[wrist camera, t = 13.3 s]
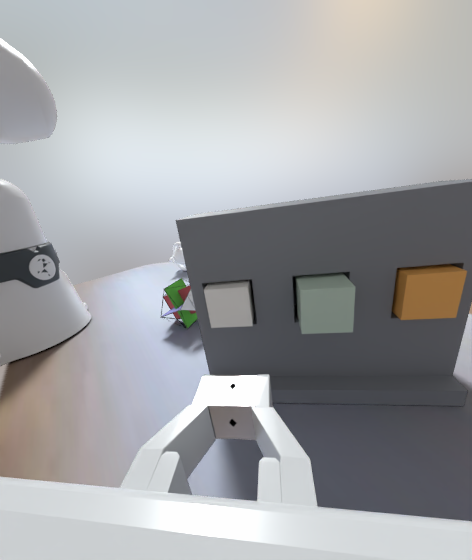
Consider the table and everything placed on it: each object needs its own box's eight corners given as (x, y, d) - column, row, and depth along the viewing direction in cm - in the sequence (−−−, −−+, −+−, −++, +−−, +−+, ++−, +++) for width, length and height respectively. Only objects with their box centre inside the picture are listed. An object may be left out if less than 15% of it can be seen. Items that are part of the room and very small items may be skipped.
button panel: (209, 401, 20) (167, 223, 15) (223, 351, 27) (197, 213, 21) (463, 406, 17) (532, 175, 11) (409, 346, 23) (436, 181, 18)
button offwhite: (211, 327, 18) (203, 290, 17) (218, 310, 21) (212, 276, 20) (252, 326, 18) (247, 286, 17) (254, 308, 20) (250, 273, 19)
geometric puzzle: (143, 316, 33) (157, 278, 29) (172, 296, 39) (187, 261, 35) (180, 346, 33) (200, 310, 28) (204, 321, 38) (224, 288, 34)
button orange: (400, 320, 16) (407, 275, 15) (381, 301, 19) (385, 262, 17) (455, 317, 15) (467, 270, 14) (427, 298, 18) (434, 258, 17)
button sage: (301, 334, 16) (300, 290, 15) (296, 313, 19) (295, 274, 18) (352, 332, 15) (355, 286, 14) (339, 310, 18) (341, 271, 17)
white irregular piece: (198, 270, 60) (192, 240, 57) (180, 277, 56) (173, 246, 53) (182, 266, 65) (176, 239, 63) (165, 273, 62) (157, 244, 59)
